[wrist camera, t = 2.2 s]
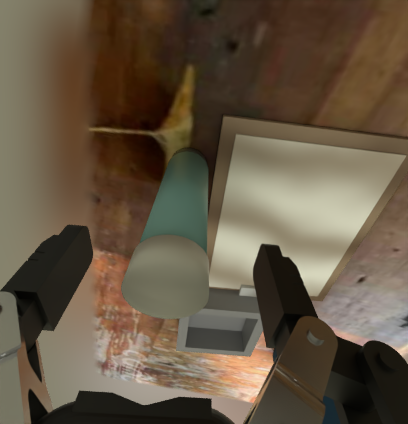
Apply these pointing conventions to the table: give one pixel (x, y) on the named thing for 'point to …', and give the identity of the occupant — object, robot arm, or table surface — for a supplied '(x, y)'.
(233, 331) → the tray
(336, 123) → the table surface
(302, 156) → the clipboard
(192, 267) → the marker
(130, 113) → the table surface
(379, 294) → the table surface
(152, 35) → the table surface
